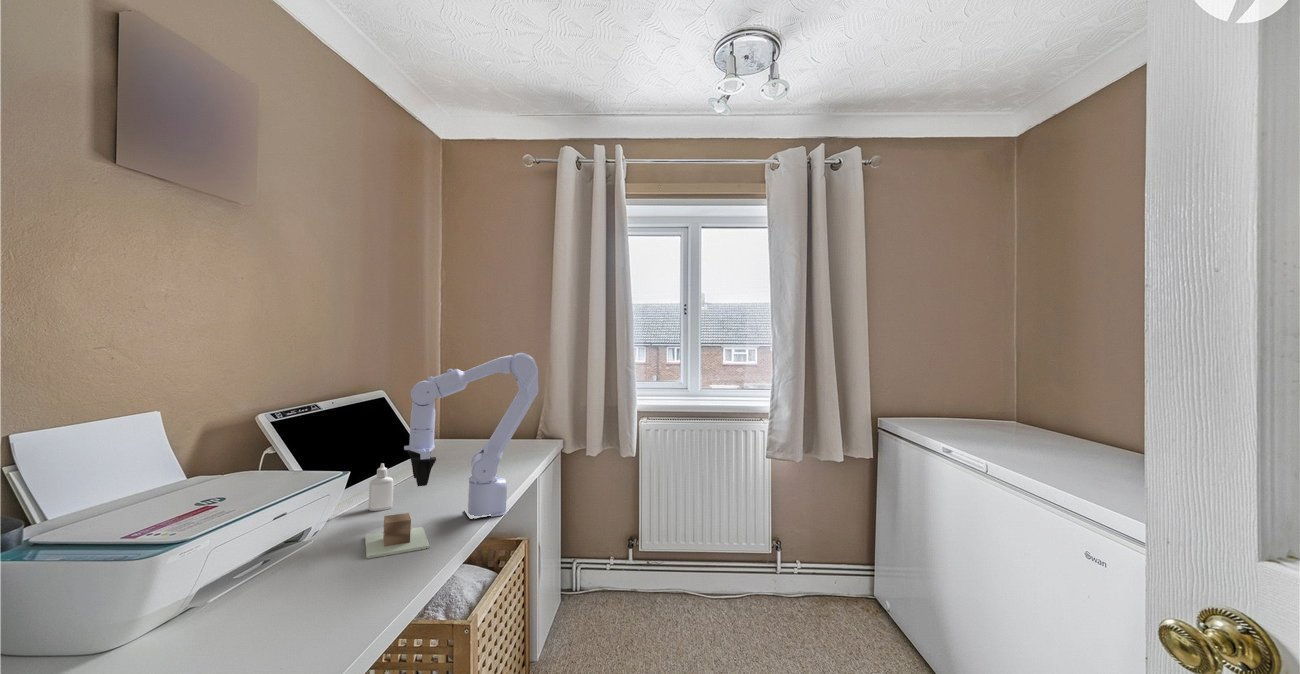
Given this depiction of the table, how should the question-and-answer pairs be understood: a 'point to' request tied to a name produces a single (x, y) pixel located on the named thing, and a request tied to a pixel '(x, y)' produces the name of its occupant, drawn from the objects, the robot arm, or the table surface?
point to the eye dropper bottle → (381, 491)
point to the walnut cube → (397, 529)
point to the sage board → (378, 549)
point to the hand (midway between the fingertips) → (420, 481)
